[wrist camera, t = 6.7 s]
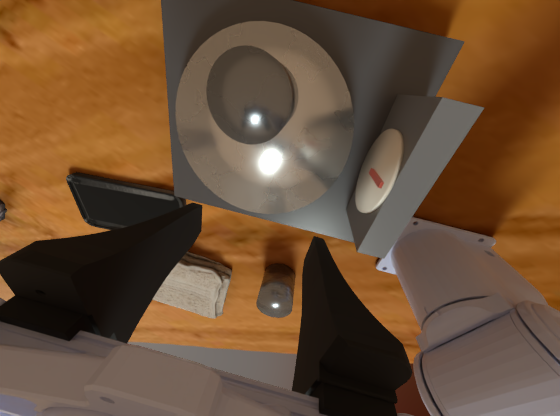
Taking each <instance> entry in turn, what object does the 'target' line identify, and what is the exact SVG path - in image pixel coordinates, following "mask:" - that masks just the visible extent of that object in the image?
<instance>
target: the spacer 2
mask: <svg viewBox="0 0 560 416" xmlns="http://www.w3.org/2000/svg"><path fill="white" fill-rule="evenodd" d="M294 285H295V273H294V271H293V270H292V269H291V268H290V267H289V266H287V265H284V264H278V263H277V264H272V265H269V266H268V267H267V268H266V270H265V273H264V277H263V280H262V284H261V288H260V292H259V295H258V299H257V307H258V309H259V310H260V311H261V312H262V313H264V314H265V315H268V316H271V317H277V318H280V317H285V316H287V315H289V314H290V313H291V311H292V305H293V295H294Z"/></svg>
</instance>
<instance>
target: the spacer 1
mask: <svg viewBox="0 0 560 416" xmlns="http://www.w3.org/2000/svg"><path fill="white" fill-rule="evenodd" d="M206 95H207V102H208V107H209V110H210V113H211V115H212V117H213V119H214V121H215V122H216V124H217V125H218V127H219V128H220V129H221V130H222V131H223V132H224V133H225V134H226V135H227V136H229V137H230V138H232V139H233V140H235V141H238V142H240V143H244V144H250V145H255V144H261V143H264V142H267V141H269V140H271V139H272V138H274V137H275V136H276V135H277V134H278V133H279V132H280V131H281V130H282V129H283V128H284V126H285V125H286V124H287V123H288V122H289V120H290V119H291V118H292V116H293V115H294V113H295V111H296V108H297V104H298V87H297V83H296V81H295V78H294V77H293V75H292V73H291V72H290V71H289V70H288V68H287V67H285V66H284V65H283V64H282V63H280V62H279V61H278V60H277V59H275V58H274V57H273V56H272V55H270V54H269V53H268V52H266V51H264V50H263V49H260V48H258V47H254V46H247V45H244V46H237V47H233V48H231V49H229V50H227V51H226V52H224V53H223V54H222V55H221V56H220V57H218V59H217V60H216V61H215V63H214V64H213V66H212V68H211V70H210V73H209V76H208V80H207V86H206Z"/></svg>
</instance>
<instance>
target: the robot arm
mask: <svg viewBox="0 0 560 416" xmlns="http://www.w3.org/2000/svg"><path fill="white" fill-rule="evenodd" d="M416 221H417V222H416ZM414 222H416V223H414ZM201 225H202V205H199V204H196V203H191V204H188V205H185V206H183V207H181V208H178V209H176V210H173V211H171V212H168V213H166V214H164V215H161V216H158V217H155V218H153V219H150V220H147V221H144V222H141V223H138V224H135V225H131V226H127V227H124V228H120V229H115V230H110V231H106V232H101V233H96V234H90V235H84V236H77V237H70V238H61V239H52V240H42V241H35V242H33V243H32V244H30V245H28V246H26V247H24V248H22V249H21V250H19V251H17V252H15V253H13V254H11V255H10V256H8V257H6V258H4V259H2V260H1V261H0V274H1V276H2V277H3V279H4V280H5V282H6V283H7V284H8V286H9V287H10V289H11V290H12V291H13V293H14V294H15V296H14V297H12V298H11V299H9V300H8V301H7V302H6V301H5V300H3V299H1V298H0V416H413V415H409V414H405V413H398V414H397V413H396V409H395V405H394V403H395V404H396V403H397V396H396V393H395V390H396V389H397V388H399V387H400V386H401V385H403V384H404V383H406V382H407V380H409V379H410V377H411V375H412V369H411V366H410V363H409V360H408V357H407V354H406V352H405V349H404V347H403V344H402V343H401V342H400V341H399V340H398V339H397V338H396V337H394V336H393V335H392V334H391V333H390V332H389V331H388V330H387V329H386V328H385V327H384V326H383V325H382V324H381V323H380V322H379V321H378V320H377V319H376V318H375V317H374V316H373V315H372V314H371V313H370V312H369V310H368V309H367V308H366V307H365V306H364V305H363V303H362V302H361V301H360V300H359V299H358V297H357V296H356V295H355V294H354V292H353V291H352V289H351V288H350V287H349V285H348V284H347V282H346V281H345V279H344V278H343V276H342V274H341V273H340V271H339V269H338V267H337V266H336V264H335V262H334V260H333V258H332V256H331V254H330V252H329V250H328V247H327V245H326V243H325V241H324V239H322V238H318V237H315V236H314V237H313V240H312V242H311V245H310V247H309V250H308V252H307V255H306V257H305V259H304V266H303V274H302V317H301V327H300V335H299V344H298V352H297V359H296V366H295V374H294V380H293V387H292V391H290V390H287V389H283V388H279V387H277V386H273V385H269V384H266V383H262V382H259V381H256V380H252V379H248V378H245V377H242V376H238V375H235V374H231V373H228V372H224V371H221V370H217V369H214V368H210V367H207V366H205V365H202V364H200V363H197V362H193V361H190V360H186V359H183V358H180V357H176V356H173V355H169V354H166V353H162V352H159V351H155V350H152V349H148V348H145V347H141V346H137V345H131V344H127V342H128V340H129V339H130V337H131V335H132V333H133V331H134V330H135V328H136V326H137V324H138V323H139V321H140V319H141V317H142V316H143V314H144V312H145V311H146V309H147V307H148V306H149V304H150V302H151V301H152V299H153V298H154V296H155V294H156V293H157V291H158V290H159V288H160V287H161V285H162V284H163V282H164V281H165V279H166V278H167V276H168V275H169V274H170V272H171V271H172V270H173V268H174V267H175V266H176V265H177V264H178V262H179V261H180V260H181V259H182V257H183V256H184V255H185V254H186V253H187V251H188V250H189V249H190V248H191V246H192V245H193V244H194V242H195V241H196V239H197V237H198V236H199V234H200V232H201ZM479 239H480V240H479ZM495 243H496V240H495V239H494V238H493V237H490V236H486V235H482V234H478V233H474V232H470V231H466V230H462V229H458V228H454V227H450V226H447V225H443V224H439V223H435V222H431V221H427V220H423V219H419V218H415V217H412V218H411V219H410V221H409V222H408V224H407V225H406V227H405V228H404V230H403V231H402V233H401V234H400V236H399V237H398V239H397V240H396V242H395V243H394V245H393V246H392V248H391V249H390V251H389V252H388V254H387V255H386V257H385V258H384V259H383V258H380V259H379V261H378V262H377V264H376V269H377V270H380V271H384V272H388V273H392V274H396V275H397V277H398V279H399V281H400V283H401V286H402V288H403V290H404V292H405V295H406V297H407V299H408V301H409V304H410V306H411V308H412V310H413V313H414V315H415V317H416V319H417V322H418V324H419V326H420V329H421V331H422V332H421V334H420V335H418V336H417V337H416V339H417V342H418V344H419V346H420V349H421V352H419V353H418V354H417V355H416V356H415V358H414V374H415V378H416V382H417V387H418V390H419V393H420V395H421V398H422V399H423V402H424V404H425V406H426V408H427V410H428V412H429V413H430V415H431V416H560V312H559V311H557V310H556V309H554V308H552V307H550V306H548V304H547V302H546V300H545V299H544V297H543V296H542V295H541V293H540V292H539V291H538V290H537V289H536V288H535V287H534V286H532V285H531V284H530V283H529V282H528V281H527V280H526V279H525V278H524V277H523V276H521V275H520V274H519V273H518V272H517V271H516V270H515V269H514V268H513V267H511V266H510V265H509V264H508V263H507V262H506V261H505V260H504V259H503V258H501V257H500V256H499V255H498V254H497V253H496V252H495V251H494V250H493V249H491V247H492V246H493V245H494V244H495ZM383 267H385V268H383Z"/></svg>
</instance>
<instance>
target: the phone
mask: <svg viewBox="0 0 560 416" xmlns="http://www.w3.org/2000/svg"><path fill="white" fill-rule="evenodd" d="M66 180H67V183H68V185H69V187H70V190H71V192H72V194H73V197H74V199H75V201H76V204H77V206H78V208H79V210H80V213H81V215H82V217H83V219H84V221H85V222H86V223H88V224H89V225H91V226H95V227H99V228H104V229H109V230H115V229H120V228H124V227H127V226H131V225H135V224H138V223H141V222H144V221H147V220H150V219H153V218H155V217H158V216H161V215H164V214H166V213H168V212H171V211H173V210H176V209H178V208H181V207H183V206H185V205H186V200H185V199H184V198H180V197H177V196H175V195H174V191H170V190H165V189H160V188H155V187H150V186H145V185H140V184H134V183H129V182H124V181H119V180H114V179H109V178H104V177H99V176H93V175H88V174H83V173H77V172H76V173H73V174H70V175H68V176H67V177H66Z"/></svg>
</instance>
